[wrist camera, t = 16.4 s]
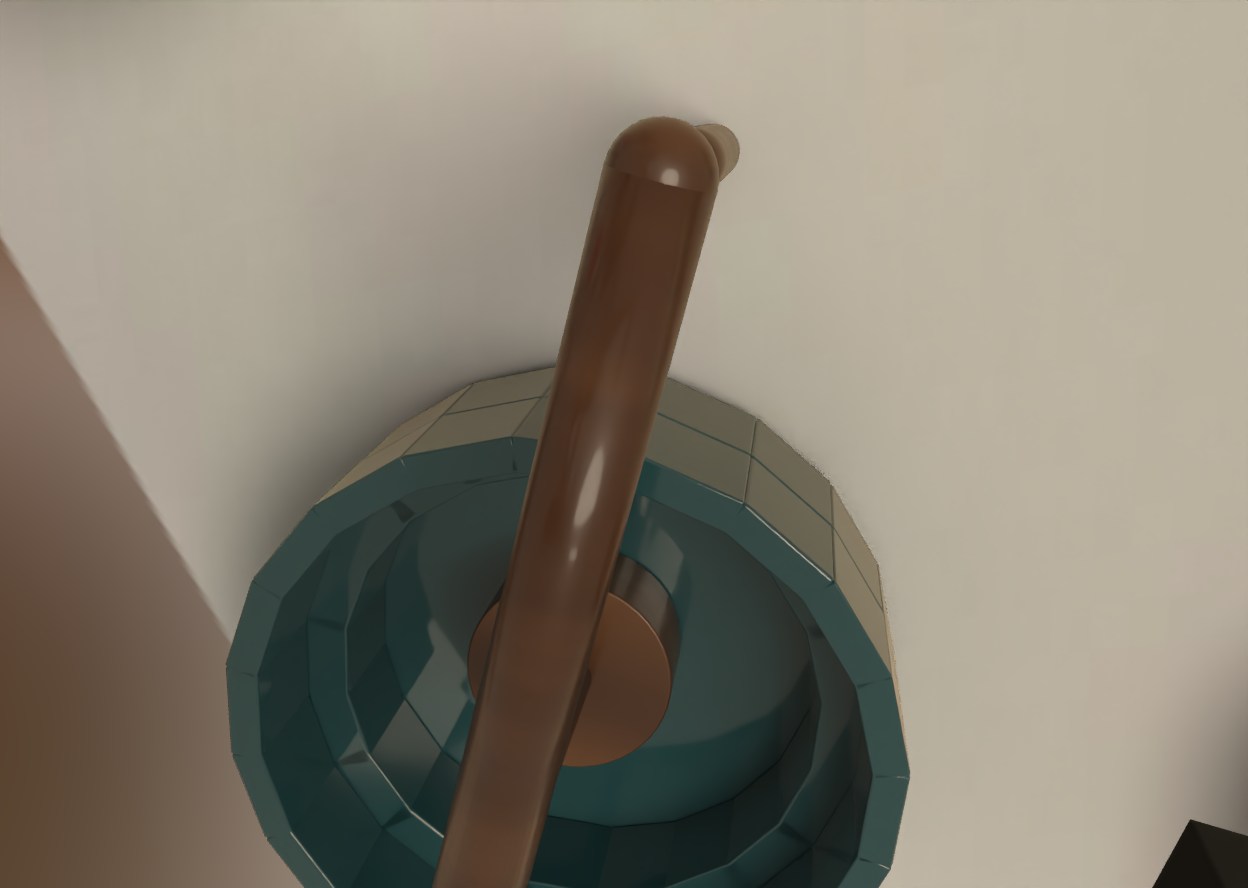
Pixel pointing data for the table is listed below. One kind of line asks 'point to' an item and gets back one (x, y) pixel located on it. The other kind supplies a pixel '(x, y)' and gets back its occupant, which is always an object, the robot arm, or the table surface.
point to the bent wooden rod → (587, 519)
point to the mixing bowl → (702, 689)
